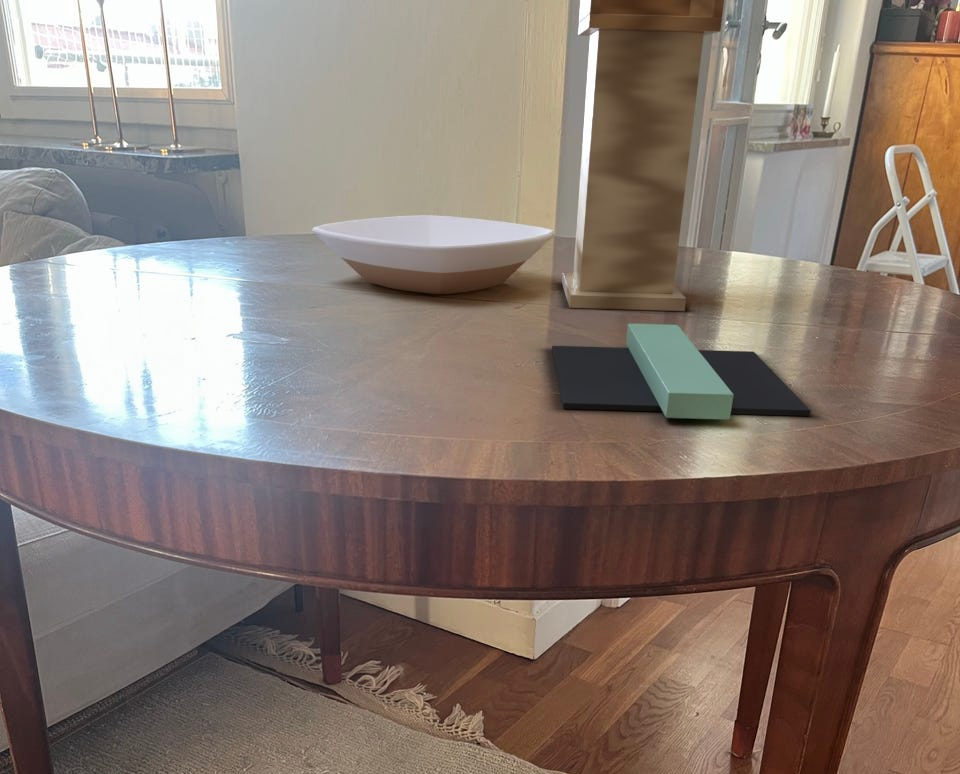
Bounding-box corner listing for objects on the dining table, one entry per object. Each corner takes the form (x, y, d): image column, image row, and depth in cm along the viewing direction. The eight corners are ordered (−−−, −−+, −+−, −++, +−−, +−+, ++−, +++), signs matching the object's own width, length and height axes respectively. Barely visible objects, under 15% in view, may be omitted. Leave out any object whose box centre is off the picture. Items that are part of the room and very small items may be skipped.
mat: (753, 356, 75) (754, 351, 75) (809, 416, 62) (810, 410, 61) (551, 350, 76) (552, 345, 75) (563, 408, 62) (563, 402, 61)
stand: (664, 286, 102) (698, -6, 89) (684, 311, 91) (727, -20, 78) (561, 283, 102) (580, -9, 89) (569, 307, 91) (592, -24, 78)
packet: (675, 345, 76) (678, 324, 76) (729, 419, 59) (733, 394, 58) (625, 343, 76) (627, 323, 76) (665, 418, 59) (668, 392, 58)
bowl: (446, 311, 88) (446, 250, 85) (288, 281, 99) (284, 226, 96) (577, 283, 102) (581, 230, 100) (426, 260, 114) (426, 212, 111)
